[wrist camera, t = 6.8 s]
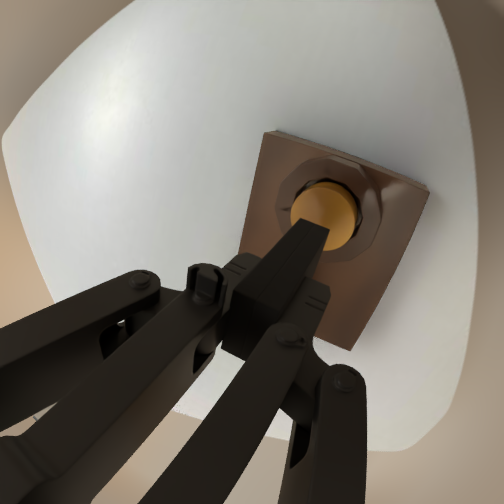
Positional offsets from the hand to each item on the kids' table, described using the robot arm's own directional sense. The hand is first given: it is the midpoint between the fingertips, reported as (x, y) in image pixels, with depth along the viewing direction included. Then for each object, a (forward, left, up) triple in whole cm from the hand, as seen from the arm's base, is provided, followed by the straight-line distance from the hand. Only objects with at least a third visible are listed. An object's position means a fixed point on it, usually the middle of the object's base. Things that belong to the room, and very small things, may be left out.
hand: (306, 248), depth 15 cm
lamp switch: (0, 0, -6) cm, 6 cm away
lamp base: (0, +4, -10) cm, 10 cm away
